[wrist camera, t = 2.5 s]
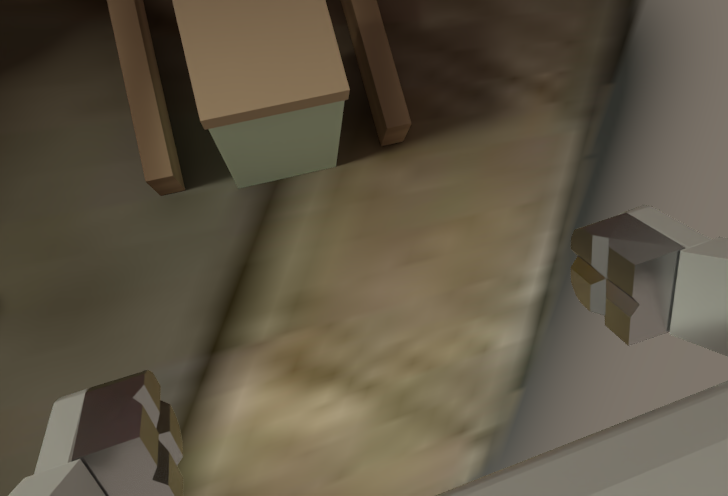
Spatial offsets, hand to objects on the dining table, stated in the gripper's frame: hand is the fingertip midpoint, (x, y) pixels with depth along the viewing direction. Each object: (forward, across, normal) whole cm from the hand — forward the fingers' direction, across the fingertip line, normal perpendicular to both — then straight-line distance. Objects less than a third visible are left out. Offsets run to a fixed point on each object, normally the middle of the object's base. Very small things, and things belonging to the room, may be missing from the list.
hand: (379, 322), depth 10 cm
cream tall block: (+20, 0, -2) cm, 20 cm away
